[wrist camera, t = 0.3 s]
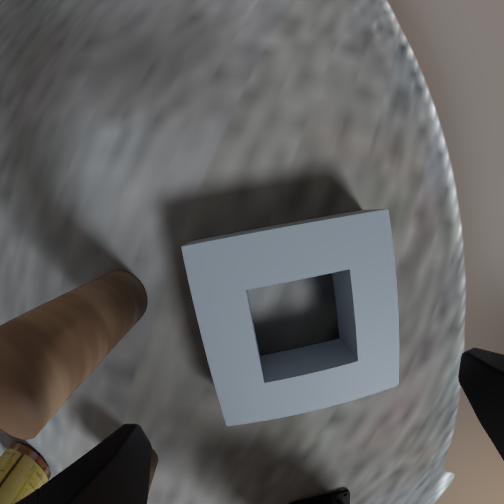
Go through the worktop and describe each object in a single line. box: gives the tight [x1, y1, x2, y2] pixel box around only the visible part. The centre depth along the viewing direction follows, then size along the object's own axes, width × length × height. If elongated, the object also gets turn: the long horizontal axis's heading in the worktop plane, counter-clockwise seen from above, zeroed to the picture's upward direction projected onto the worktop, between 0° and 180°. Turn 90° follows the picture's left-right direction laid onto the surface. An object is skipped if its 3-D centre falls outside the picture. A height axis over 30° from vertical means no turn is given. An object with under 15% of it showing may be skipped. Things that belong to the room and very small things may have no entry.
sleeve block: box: [181, 209, 399, 426], centre depth 19 cm, size 12×12×4 cm
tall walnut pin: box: [0, 271, 147, 440], centre depth 14 cm, size 4×4×14 cm
